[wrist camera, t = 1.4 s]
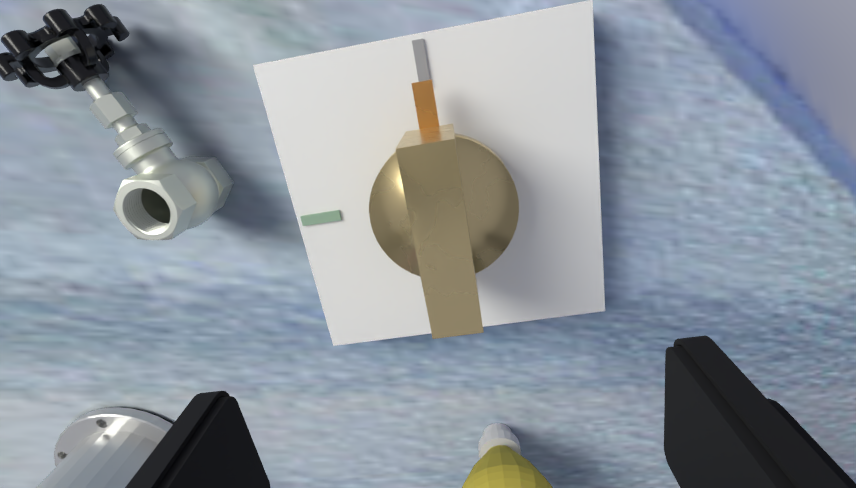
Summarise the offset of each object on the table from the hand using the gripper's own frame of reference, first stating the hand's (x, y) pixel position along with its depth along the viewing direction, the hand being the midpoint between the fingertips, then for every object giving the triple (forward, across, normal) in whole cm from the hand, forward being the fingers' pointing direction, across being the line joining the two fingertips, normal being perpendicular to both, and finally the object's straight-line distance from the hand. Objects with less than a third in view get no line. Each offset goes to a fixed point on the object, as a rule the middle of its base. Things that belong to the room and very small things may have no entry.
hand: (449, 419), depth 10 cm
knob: (+18, 0, -1) cm, 18 cm away
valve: (+22, +17, -6) cm, 28 cm away
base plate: (+22, 0, 0) cm, 22 cm away
